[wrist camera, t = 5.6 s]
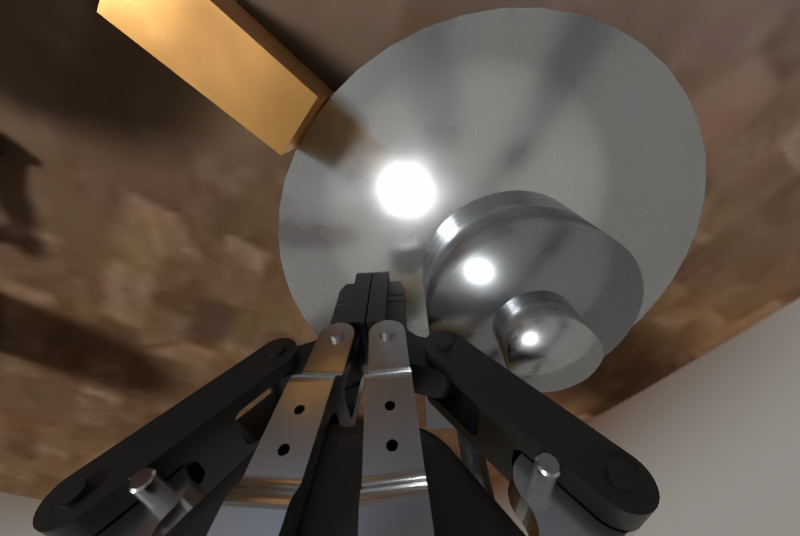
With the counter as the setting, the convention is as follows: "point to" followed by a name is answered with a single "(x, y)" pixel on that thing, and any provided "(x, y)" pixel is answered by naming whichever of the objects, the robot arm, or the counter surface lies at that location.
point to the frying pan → (446, 136)
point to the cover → (531, 287)
